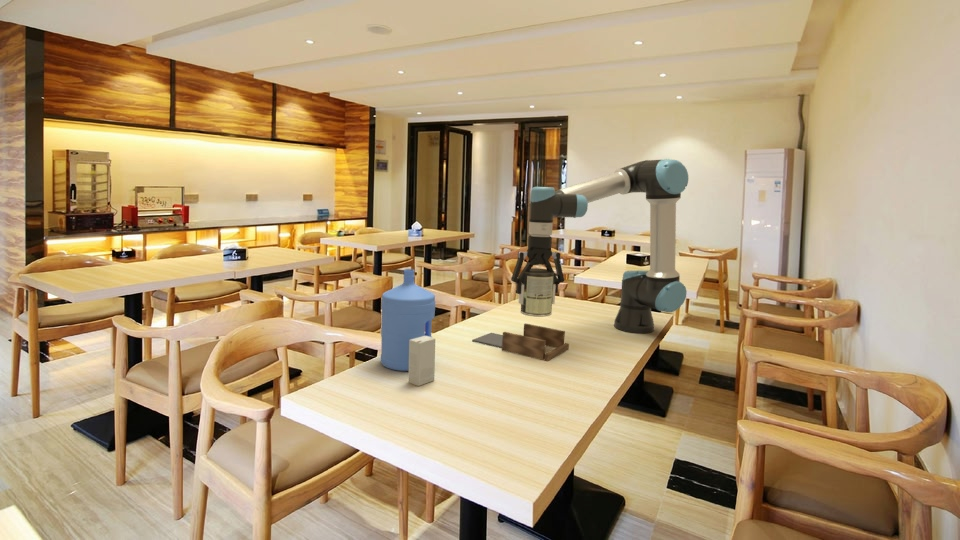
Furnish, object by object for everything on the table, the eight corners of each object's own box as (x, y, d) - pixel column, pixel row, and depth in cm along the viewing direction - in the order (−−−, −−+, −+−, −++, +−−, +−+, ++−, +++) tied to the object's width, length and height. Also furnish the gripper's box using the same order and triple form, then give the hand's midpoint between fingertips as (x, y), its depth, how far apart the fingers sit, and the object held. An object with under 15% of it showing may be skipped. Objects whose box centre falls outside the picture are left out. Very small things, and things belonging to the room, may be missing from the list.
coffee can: (513, 311, 172) (515, 269, 170) (535, 308, 179) (537, 267, 176) (536, 318, 164) (538, 274, 162) (558, 314, 171) (560, 271, 169)
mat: (519, 340, 183) (520, 338, 183) (502, 348, 173) (502, 346, 173) (491, 334, 189) (491, 332, 189) (472, 341, 180) (472, 339, 180)
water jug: (390, 375, 145) (391, 275, 140) (374, 358, 158) (375, 266, 154) (442, 368, 152) (444, 273, 148) (422, 352, 166) (424, 265, 161)
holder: (568, 349, 175) (569, 332, 174) (547, 361, 162) (549, 342, 161) (524, 339, 184) (525, 323, 183) (501, 350, 171) (502, 332, 170)
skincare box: (423, 376, 144) (424, 334, 143) (435, 381, 142) (436, 338, 140) (407, 382, 140) (407, 338, 138) (418, 387, 137) (419, 342, 135)
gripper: (509, 236, 161) (506, 306, 165) (577, 237, 166) (573, 305, 170) (503, 233, 168) (500, 301, 172) (568, 234, 174) (564, 300, 177)
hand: (536, 303), depth 171 cm, fingers closed on coffee can, 10 cm apart
